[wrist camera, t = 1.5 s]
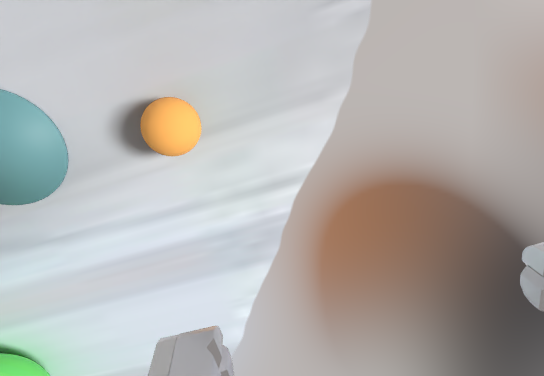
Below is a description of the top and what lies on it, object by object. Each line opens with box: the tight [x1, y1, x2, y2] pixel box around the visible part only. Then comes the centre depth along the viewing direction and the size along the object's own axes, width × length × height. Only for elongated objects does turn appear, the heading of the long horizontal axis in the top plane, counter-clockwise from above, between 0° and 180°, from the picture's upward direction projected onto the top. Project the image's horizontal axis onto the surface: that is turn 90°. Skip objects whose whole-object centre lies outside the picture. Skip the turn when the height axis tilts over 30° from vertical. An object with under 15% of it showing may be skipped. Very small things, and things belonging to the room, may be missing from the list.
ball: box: [140, 97, 201, 156], centre depth 31 cm, size 6×6×6 cm
